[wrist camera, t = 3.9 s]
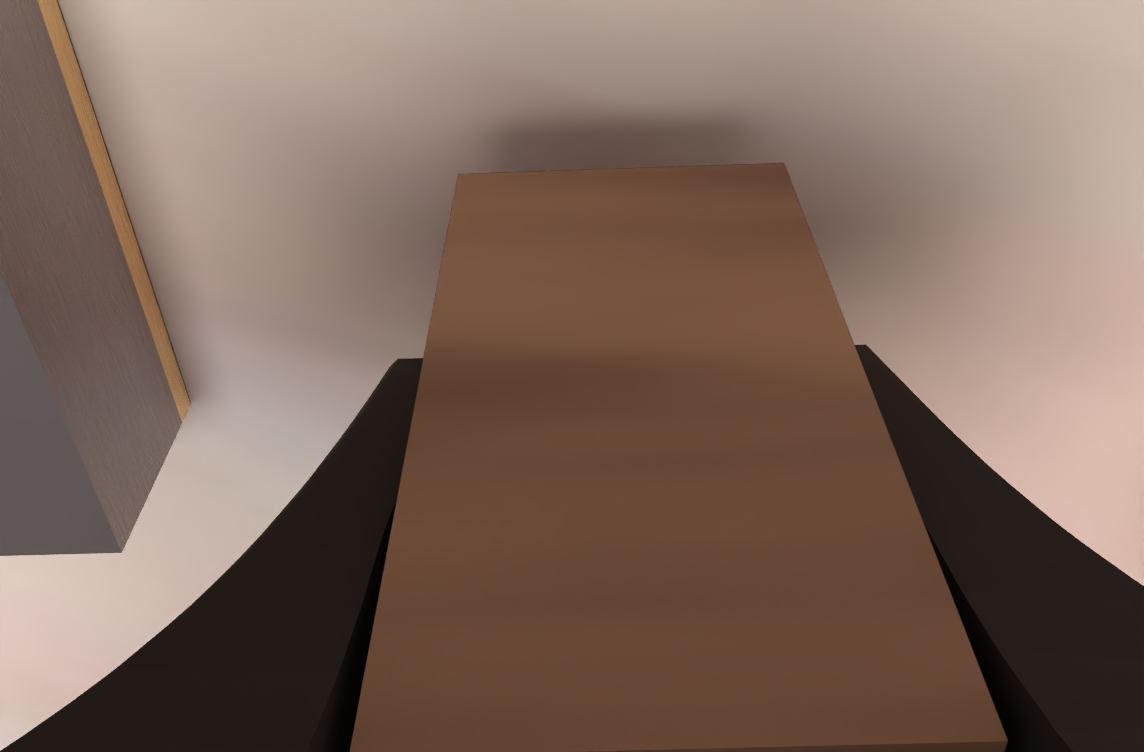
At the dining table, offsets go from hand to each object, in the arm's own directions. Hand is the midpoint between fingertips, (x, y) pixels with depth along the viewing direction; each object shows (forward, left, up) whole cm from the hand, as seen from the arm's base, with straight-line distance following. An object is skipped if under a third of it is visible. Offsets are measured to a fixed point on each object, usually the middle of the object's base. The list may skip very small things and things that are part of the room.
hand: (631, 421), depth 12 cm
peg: (0, 0, -2) cm, 2 cm away
